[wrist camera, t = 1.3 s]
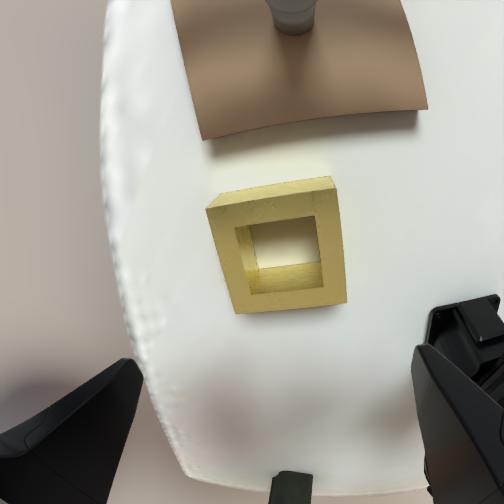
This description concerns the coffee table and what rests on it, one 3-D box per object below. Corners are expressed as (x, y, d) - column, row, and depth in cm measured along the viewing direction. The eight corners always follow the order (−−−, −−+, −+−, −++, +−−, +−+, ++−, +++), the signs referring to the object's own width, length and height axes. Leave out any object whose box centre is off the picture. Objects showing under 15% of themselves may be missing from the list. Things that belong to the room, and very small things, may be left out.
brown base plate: (418, 109, 13) (476, 110, 7) (210, 138, 16) (160, 152, 10) (369, -49, 9) (391, -103, 3) (175, -16, 12) (122, -58, 6)
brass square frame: (341, 275, 18) (347, 302, 16) (244, 286, 20) (235, 313, 17) (330, 175, 16) (336, 187, 13) (220, 193, 17) (205, 208, 15)
